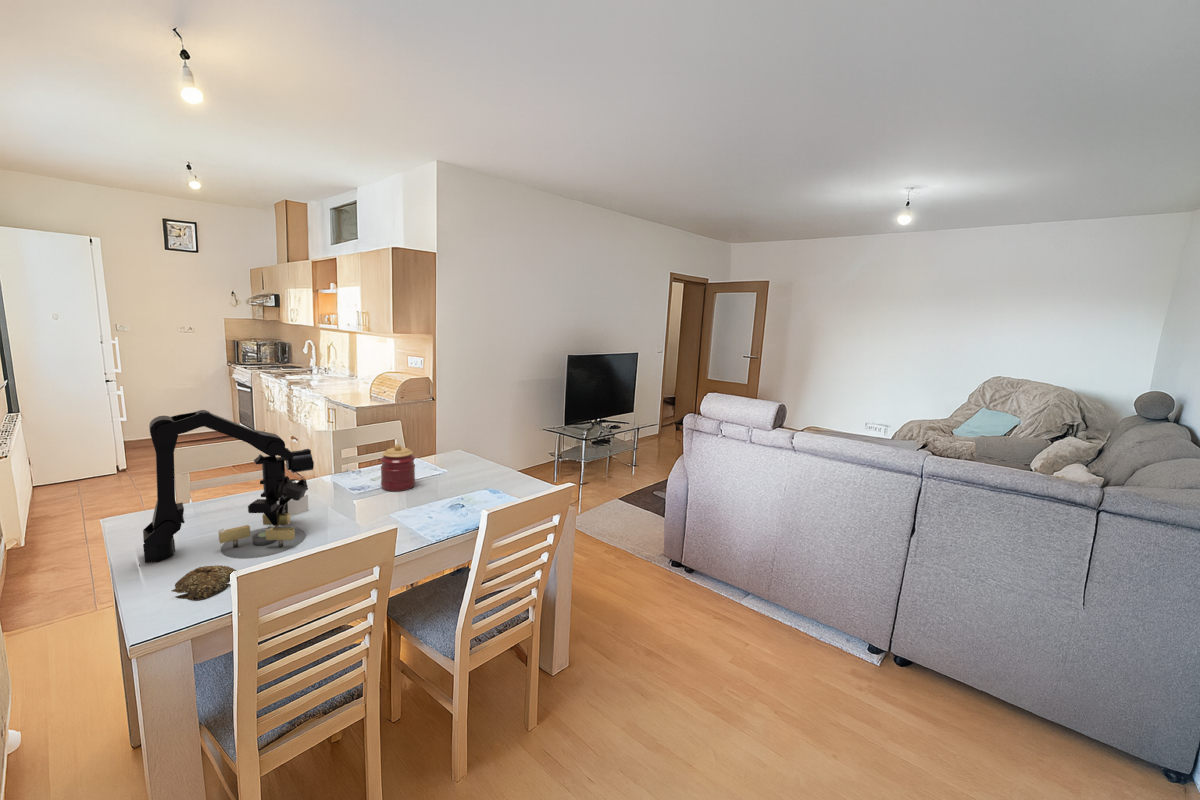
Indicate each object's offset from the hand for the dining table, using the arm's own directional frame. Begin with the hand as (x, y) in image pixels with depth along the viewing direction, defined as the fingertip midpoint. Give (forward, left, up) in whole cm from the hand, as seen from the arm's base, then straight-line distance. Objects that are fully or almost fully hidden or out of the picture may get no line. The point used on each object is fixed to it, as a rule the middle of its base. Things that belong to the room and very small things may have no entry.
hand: (276, 523), depth 152 cm
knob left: (-10, +6, -2) cm, 12 cm away
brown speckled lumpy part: (-29, +3, -4) cm, 30 cm away
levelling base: (-7, 0, -4) cm, 8 cm away
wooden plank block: (0, 0, -2) cm, 2 cm away
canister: (+45, -24, -4) cm, 51 cm away
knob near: (-10, -6, -2) cm, 12 cm away
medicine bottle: (+16, +3, -4) cm, 17 cm away
